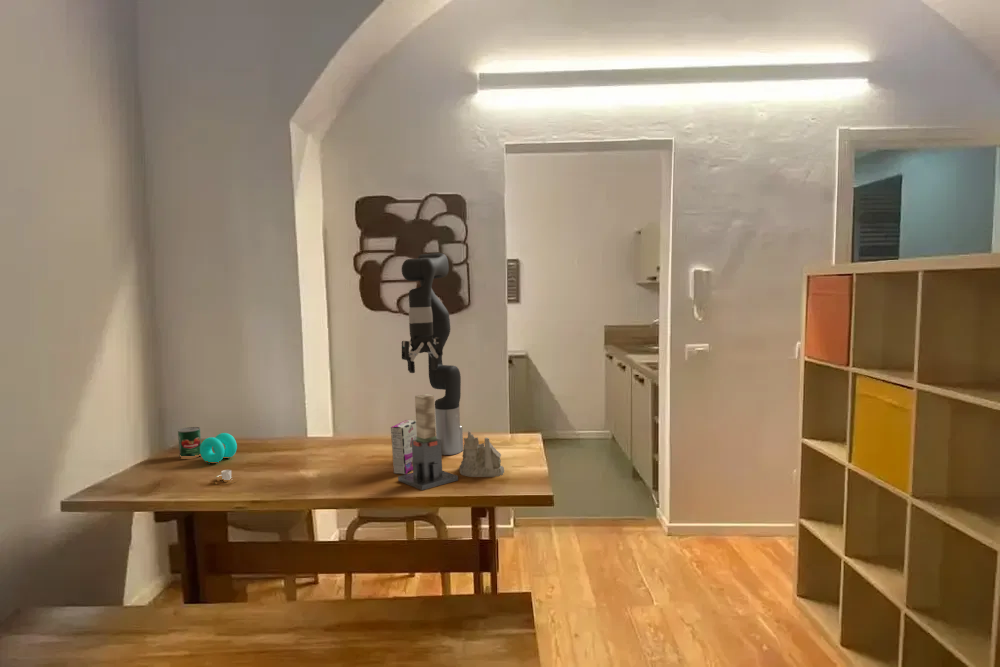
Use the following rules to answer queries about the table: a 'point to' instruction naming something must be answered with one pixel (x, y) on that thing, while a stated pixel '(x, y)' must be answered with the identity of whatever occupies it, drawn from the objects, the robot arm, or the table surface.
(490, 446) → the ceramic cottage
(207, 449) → the donuts
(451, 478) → the stand
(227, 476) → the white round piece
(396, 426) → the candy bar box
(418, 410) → the post
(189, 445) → the canned tomato
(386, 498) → the table surface
